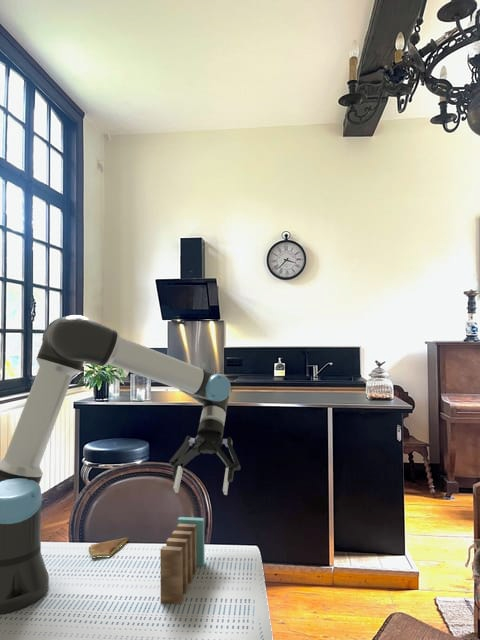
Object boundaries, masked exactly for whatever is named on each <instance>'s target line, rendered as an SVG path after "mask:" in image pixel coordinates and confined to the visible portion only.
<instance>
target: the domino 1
mask: <svg viewBox="0 0 480 640" xmlns="http://www.w3.org/2000/svg"><path fill="white" fill-rule="evenodd" d="M178 524H196V529H197V567H204V566H205V517H191V516H190V517H188V516H187V517H186V516H179V517H178V518H177V525H178Z"/></svg>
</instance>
